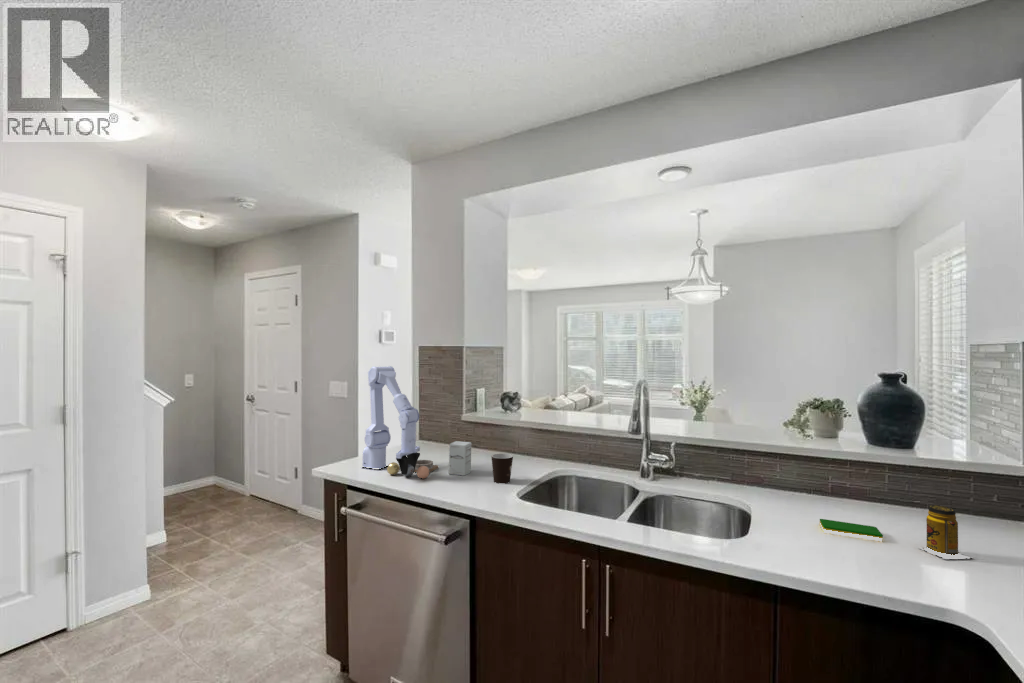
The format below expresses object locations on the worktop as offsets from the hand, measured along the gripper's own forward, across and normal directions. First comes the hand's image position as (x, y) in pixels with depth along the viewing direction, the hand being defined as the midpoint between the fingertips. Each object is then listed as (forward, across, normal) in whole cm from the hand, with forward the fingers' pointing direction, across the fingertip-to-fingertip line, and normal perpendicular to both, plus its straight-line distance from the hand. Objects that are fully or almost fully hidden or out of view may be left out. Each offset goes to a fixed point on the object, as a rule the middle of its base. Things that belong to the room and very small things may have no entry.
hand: (407, 472), depth 184 cm
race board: (+2, +11, 0) cm, 11 cm away
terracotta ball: (-1, 0, -7) cm, 7 cm away
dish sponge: (+2, -1, -150) cm, 150 cm away
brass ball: (-1, 0, +7) cm, 7 cm away
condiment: (+2, -8, -169) cm, 169 cm away
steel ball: (-1, 0, 0) cm, 1 cm away
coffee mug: (+2, +10, -38) cm, 39 cm away
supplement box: (+2, +13, -17) cm, 21 cm away
